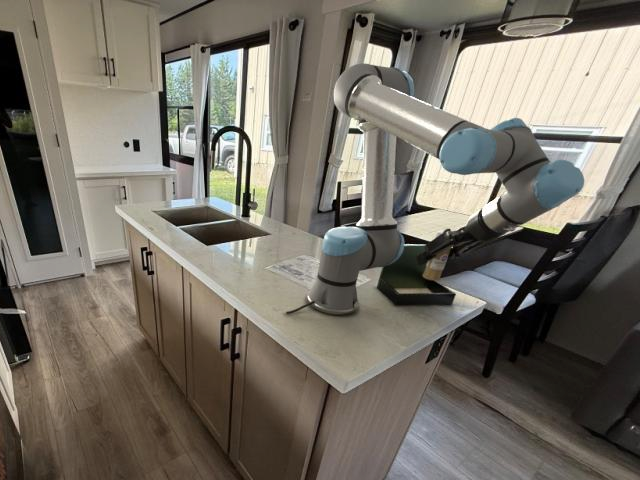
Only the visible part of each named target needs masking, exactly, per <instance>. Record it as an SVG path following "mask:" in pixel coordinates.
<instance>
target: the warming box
mask: <svg viewBox="0 0 640 480" xmlns="http://www.w3.org/2000/svg"><path fill="white" fill-rule="evenodd" d="M425 245H426V244H409V243H408V244H407V243H406V244H405V243H404V250H403V252H402V254H401V256H400V257H399V259H398V260H396V261H395V262H394V263H392V264H389V265H387V266H384V267H381V270H380V274H379V278H378V281H377V284H376V289H377V290H378V291H379V292H380V293H381V294H382V295H383V296H384V297H385V298H387V300H388V301H390V302H391V304H393V305H394V306H395V307H397V306H398V307H399V306H400V307H406V306H449V305H450V306H451V305H453V304H454V303H453V302H454V300H455V298H456V295H457V293H456V292H455V291H452V290H451V289H449V288H448V287H447V286H445V285H443V283H441V282H439V280H438V281H433V280H428V279H426V278H424V277H423V274H424V271H425V269H426V265H427V262H428V261H427V262H426V263H424V264H422V265H418V261H417V256H419V255H420V254H422V253H423V252H425V251H426V250H425ZM399 289H401V290H402V289H404V290H406V289H407V290H410V289H427V290H429V292H422V293H421V292H420V293H419V292H415V293H408V292H407V293H400V292H398V290H399Z"/></svg>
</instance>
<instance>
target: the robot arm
mask: <svg viewBox="0 0 640 480" xmlns="http://www.w3.org/2000/svg"><path fill="white" fill-rule="evenodd" d="M414 84H415V83H414V80H413V78H412V77H411V75H410V74H409V73H408V72H407V71H405V70H402V69H400V68H398V67H394V66H389V67H388V66H382V65H377V64H376V65H375V64H371V63H357V64H353V65H351V66H349V67H347V68H346V69H345V70H344V71H343V72H342V73H341V74H340V75H339V77H338V79H337V81H336V82H335V84H334V89H333V101H334V105H335V107H336V109H337V110H338V111H339V112H340V113H341V114H344V115H345V116H348V117H349V118H351V119H352V120H354V121H358V123H357V125H358V127H357V128H358V129H359V130H360V131H361V132H362V133H363V143H362V145H363V146H362V176H361V177H362V183H361V213H360V215H361V216H360V220H359V221H358V222H356V224H355V226H337V227H334V228H331V229H329V230H328V231H326V232H325V234H324V236H323V242H322V243H321V249H320V250H321V251H320V257H319V262H318V269H317V275H316V278H315V279H314V282H313V283H312V286H311V287H310V289H309V290H308V293H307V299H306V300H307V303H305V304H303V305H301V306H299V307H298V308H295V309H292V310H288V311H285V314H286V315H290V314H293V313H294V314H295V313H297V312H298V311H301V310H302V309H305V308H307V307H309V306H310V307H311V308H313V309H314V310H316V311H318V312H320V313H323V314H326V315H330V316H332V315H333V316H347V315H351V314H353V313H355V312H356V310H357V309H358V306H359V305H360V302H359V299H358V291H357V282H358V277H359V273H360V272H362V271H366V270H372V269H376V268H382V267H384V266H387V265H389V264H392V263H394V262H395V261H396V260H398V259H399V257H400V256H401V254H402V252H403V250H404V244H405V238H404V235H403V234H402V232H401V231H400V230H399V229H398V222H397V220H396V219H395V218H394V217H393V205H394V204H393V202H394V187H395V185H394V184H395V170H396V169H395V167H396V166H395V165H396V150H397V149H396V148H397V138H398V139H400V140H401V141H404V142H406V143H408V144H409V145H412V146H413V147H415V148H417V149H418V150H420V151H422V152H424V153H426V154H428V155H430V156H432V157H434V158H436V159H438V160H439V162H440V164H441V166H442V168H443V170H444V171H446V172H448V173H450V174H455V175H461V176H468V175H475V174H496V175H497V177H498V179H499V180H500V182H501V184H502V185H503V186H504V188H505V190H506V191H505V192H504V193H502V194H501V195H500V196H498V197H496V198H495V199H493V200H492V201H490V202H489V203H487V204H485V205H484V207H482V208H480V209H479V210H477V211H476V212H474V213H473V214H471V215H470V216H469V218H468V220H467V222H466V224H465V225H463V226H460V227H459V228H457V230H452V229H451V228H446V229H444V230H445V231H444V232H443V233H442V234H441V235H439V236H438V237H436V236H435V237H434V238H433V239H432V240H430V241H429V242H427V243H426V244H424V245H425V250H426V251H425V252H423V253H422V254H420V255H419V256H417V261H418V265H422V264H424V263H426V262H427V261H429V260H431V259H432V258H434V257H436V254H438V253H440V252H442V251H444V250H447V249H449V248H451V250H450V252H449V255H448V258H447V260H449V259H451V258H453V257H454V258H455V259H458V258H461V254H462V255H467V254H469V253H471V252H472V251H474V250H476V249H478V248H480V247H482V246H484V245H486V244H488V243H491V242H493V241H495V240H498V238H501V237H502V236H504V235H506V234H507V233H509V232H514V231H516V229H517V228H519V227H521V226H522V225H524V224H527V223H529V222H530V221H532V220H534V219H536V218H538V217H540V216H542V215H544V214H546V213H547V212H549V211H552V210H554V209H555V208H558V207H560V206H561V205H563V203H565V202H567V201H568V200H570V199H572V198H573V197H575V196H577V195H578V194H579V193H580V192H581V191H582V190H583V188H584V186H585V177H584V174H583V172H582V170H581V169H580V168H579V167H578V166H575V165H574V163H573V162H572V161H570V160H566V159H556V160H555V159H554V160H553V161H551V160H550V159H549V157H548V156H547V155H546V153H545V151H544V150H543V148H542V147H541V145H540V144H539V142H538V140H537V139H536V137H535V135H534V134H533V131H532V129H531V128H530V127H529V126H528V125H527V123H526V122H525V121H524V120H523V119H522V118H520V117H511V118H510V119H505V120H504V121H501V122H500V123H498V124H496V125H494V126H493V127H491V128H490V129H489V128H486V127H483V126H482V125H479V124H476V123H474V122H471V121H469V120H467V119H464V118H462V117H460V116H457V115H455V114H452V113H450V112H448V111H446V110H443V109H441V108H439V107H436V106H434V105H431V104H429V103H427V102H425V101H422V100H419V99H418V98H415V85H414Z"/></svg>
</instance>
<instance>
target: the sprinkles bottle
mask: <svg viewBox="0 0 640 480" xmlns="http://www.w3.org/2000/svg"><path fill="white" fill-rule="evenodd" d="M445 230H446V229H443V230H442V229H441V230H437V232H436V234H435V238H436V237H438V236H439V235H441V234H442V233H443V232H444V231H445ZM451 248H452V247H451ZM451 248H449V249H447V250H444V251H442V252H440V253H438V254H436V257H434V258H432V259H431V260H429V261H428V262H427V265H426V269H425V271H424V274H423V277H424V278H426V279H428V280H433V281H438V282H439V281H440V280H441V277H442V274H443V271H444V270H445V267H446V264H447V261H448V259H447V258H448V255H449V252H450V250H451Z"/></svg>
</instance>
